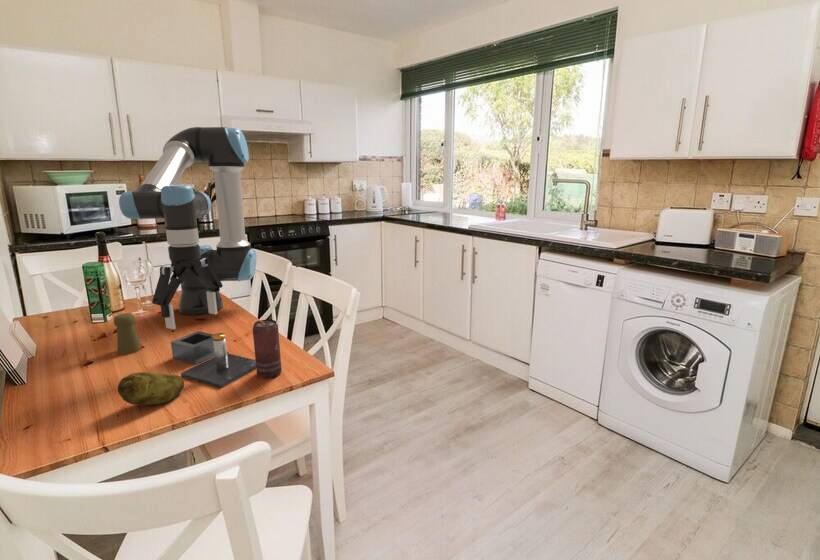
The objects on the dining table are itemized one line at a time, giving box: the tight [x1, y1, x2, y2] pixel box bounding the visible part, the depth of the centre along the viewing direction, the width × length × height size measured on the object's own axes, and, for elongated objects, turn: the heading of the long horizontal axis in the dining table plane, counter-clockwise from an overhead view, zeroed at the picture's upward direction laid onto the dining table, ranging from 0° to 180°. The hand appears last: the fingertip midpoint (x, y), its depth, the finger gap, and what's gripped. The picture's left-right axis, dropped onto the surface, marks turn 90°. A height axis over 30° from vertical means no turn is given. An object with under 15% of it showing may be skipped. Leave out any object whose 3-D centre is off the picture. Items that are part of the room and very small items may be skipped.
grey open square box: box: [170, 330, 215, 366], centre depth 125 cm, size 9×9×5 cm
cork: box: [113, 312, 143, 355], centre depth 127 cm, size 6×6×11 cm
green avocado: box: [117, 371, 185, 406], centre depth 100 cm, size 8×13×8 cm, turn 122°
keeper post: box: [180, 332, 256, 389], centre depth 115 cm, size 14×14×10 cm
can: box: [252, 319, 282, 379], centre depth 113 cm, size 6×6×14 cm
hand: (193, 320), depth 122 cm, fingers open, 13 cm apart
